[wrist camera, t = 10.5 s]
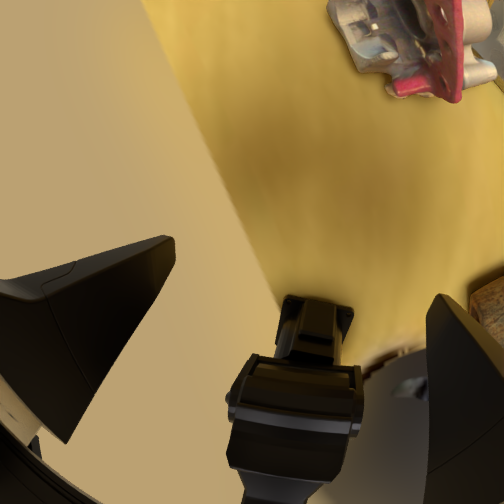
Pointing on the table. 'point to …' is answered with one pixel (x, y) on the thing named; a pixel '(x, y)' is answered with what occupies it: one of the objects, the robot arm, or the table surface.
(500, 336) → the wooden log
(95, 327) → the robot arm
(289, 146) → the table surface
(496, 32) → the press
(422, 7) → the brake caliper
